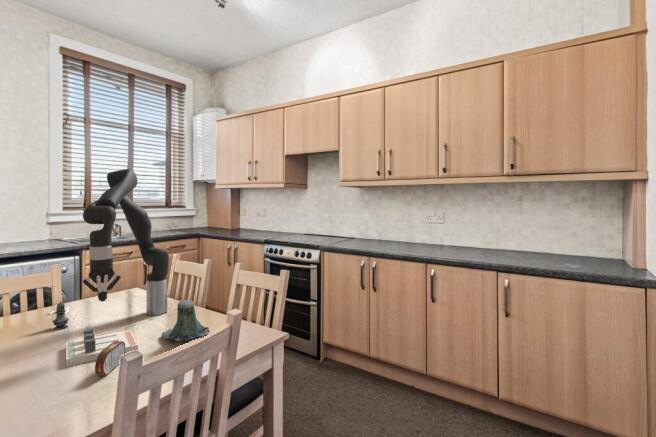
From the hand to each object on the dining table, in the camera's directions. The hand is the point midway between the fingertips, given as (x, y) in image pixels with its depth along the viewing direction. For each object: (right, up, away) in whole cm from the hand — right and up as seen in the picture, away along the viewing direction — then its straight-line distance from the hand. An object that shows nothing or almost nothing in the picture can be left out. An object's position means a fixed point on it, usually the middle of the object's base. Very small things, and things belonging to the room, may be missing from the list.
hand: (102, 300), depth 135 cm
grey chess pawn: (-31, -17, +19) cm, 40 cm away
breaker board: (+1, -18, -2) cm, 19 cm away
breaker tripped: (-2, -16, -4) cm, 17 cm away
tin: (+14, -20, -16) cm, 29 cm away
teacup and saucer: (-45, -16, +40) cm, 62 cm away
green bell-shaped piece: (+27, -19, +13) cm, 36 cm away
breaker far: (-6, -15, 0) cm, 16 cm away
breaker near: (+1, -16, -9) cm, 19 cm away
